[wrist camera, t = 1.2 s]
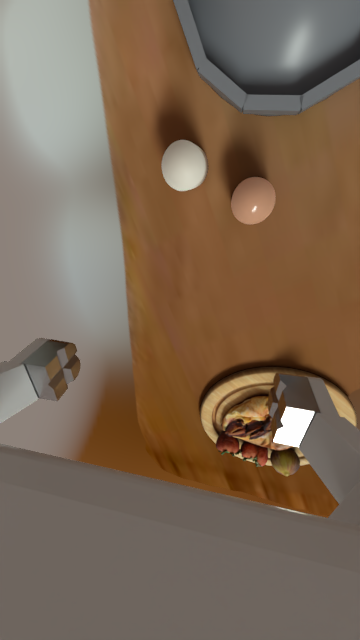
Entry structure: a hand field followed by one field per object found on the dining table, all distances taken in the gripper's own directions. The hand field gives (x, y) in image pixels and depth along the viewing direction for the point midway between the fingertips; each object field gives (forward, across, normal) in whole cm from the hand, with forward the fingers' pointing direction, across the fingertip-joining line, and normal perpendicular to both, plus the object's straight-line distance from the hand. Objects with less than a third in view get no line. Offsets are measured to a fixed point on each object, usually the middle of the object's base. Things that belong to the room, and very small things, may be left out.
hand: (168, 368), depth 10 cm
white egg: (+30, +4, -8) cm, 32 cm away
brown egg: (+30, -4, -4) cm, 31 cm away
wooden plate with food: (+31, -16, +40) cm, 53 cm away
